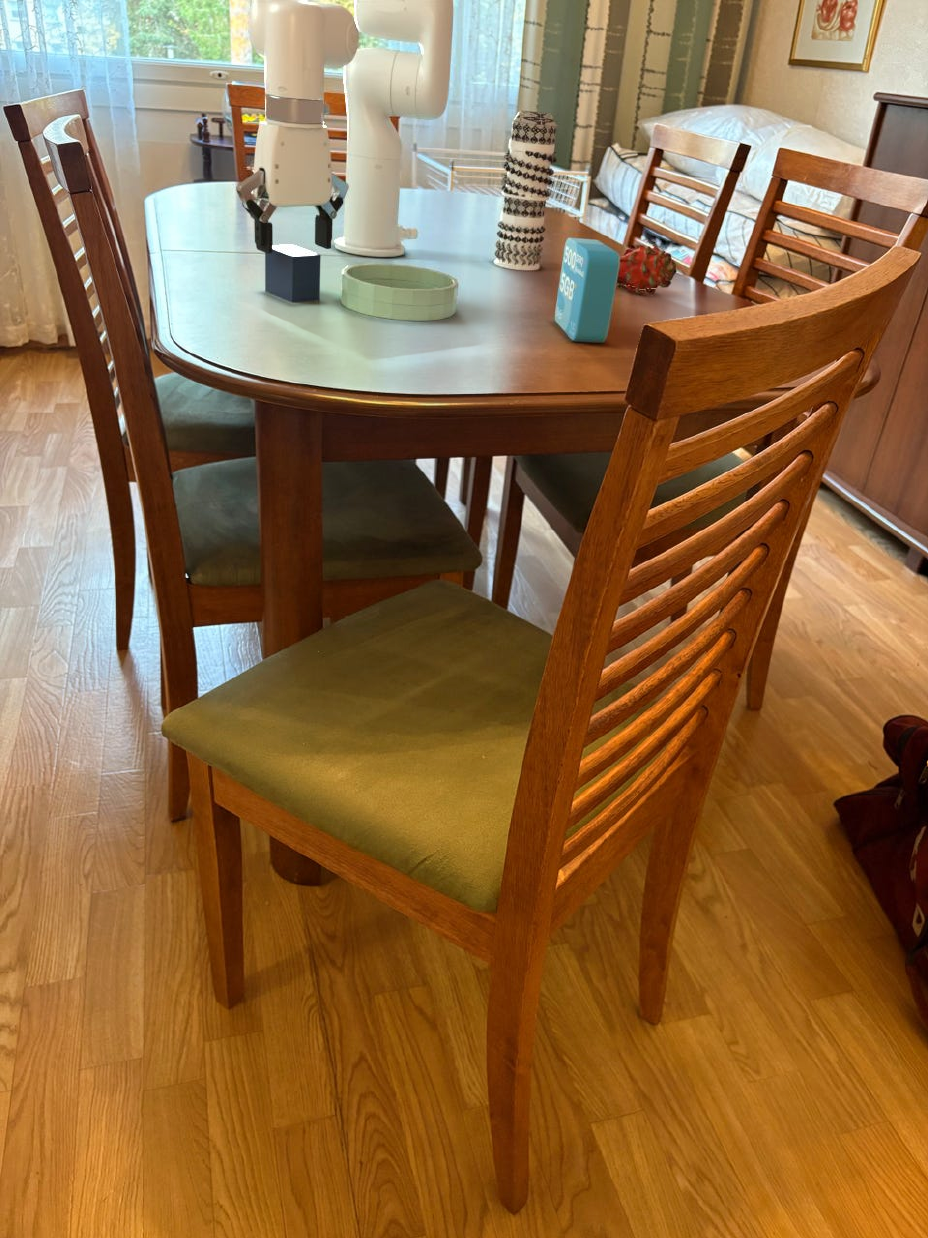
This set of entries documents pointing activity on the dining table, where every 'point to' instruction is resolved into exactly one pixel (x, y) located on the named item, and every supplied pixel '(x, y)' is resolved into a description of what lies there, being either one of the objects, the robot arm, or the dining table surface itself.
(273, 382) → the dining table surface
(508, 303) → the dining table surface
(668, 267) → the dragon fruit
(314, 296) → the navy blue block
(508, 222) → the decorative candle
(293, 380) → the dining table surface
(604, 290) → the data package
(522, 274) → the dining table surface
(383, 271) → the bowl
